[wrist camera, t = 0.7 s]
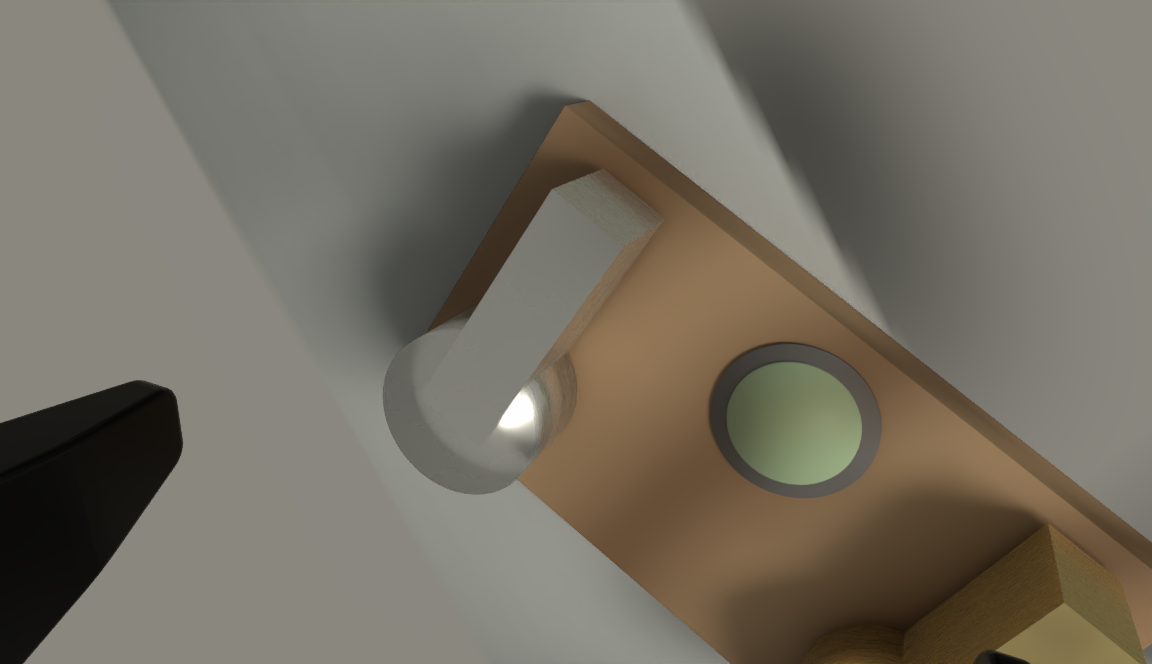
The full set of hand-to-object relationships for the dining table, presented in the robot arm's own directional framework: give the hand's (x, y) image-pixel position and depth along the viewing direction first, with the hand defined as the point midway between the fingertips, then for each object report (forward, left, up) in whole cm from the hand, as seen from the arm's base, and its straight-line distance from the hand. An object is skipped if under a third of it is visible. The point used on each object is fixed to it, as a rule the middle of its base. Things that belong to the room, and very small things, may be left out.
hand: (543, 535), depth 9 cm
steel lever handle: (+3, +4, -11) cm, 12 cm away
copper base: (-3, +4, -12) cm, 13 cm away
